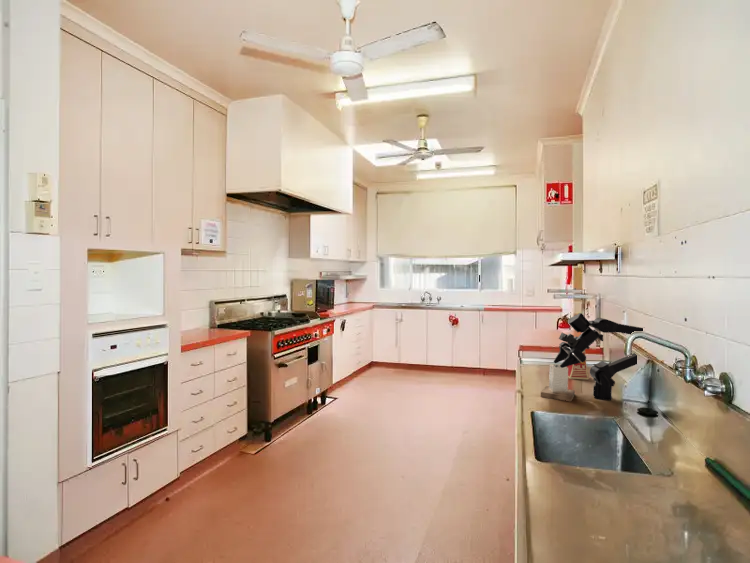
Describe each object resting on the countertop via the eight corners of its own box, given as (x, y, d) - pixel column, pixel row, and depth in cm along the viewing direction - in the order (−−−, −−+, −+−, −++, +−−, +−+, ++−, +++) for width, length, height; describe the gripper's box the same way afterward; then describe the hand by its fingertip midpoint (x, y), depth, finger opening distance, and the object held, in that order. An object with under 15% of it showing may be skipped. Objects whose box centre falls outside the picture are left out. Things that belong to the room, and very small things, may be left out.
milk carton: (588, 379, 223) (590, 340, 223) (570, 378, 224) (571, 339, 223) (580, 375, 233) (582, 337, 232) (562, 374, 233) (564, 336, 232)
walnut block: (574, 394, 194) (574, 390, 194) (570, 401, 184) (571, 396, 184) (545, 390, 201) (545, 385, 200) (540, 396, 190) (540, 391, 190)
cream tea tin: (562, 389, 195) (563, 364, 195) (567, 393, 189) (568, 367, 189) (548, 388, 196) (549, 364, 195) (552, 392, 190) (553, 367, 189)
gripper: (564, 324, 200) (538, 347, 202) (579, 329, 182) (550, 355, 183) (582, 342, 200) (556, 365, 201) (598, 349, 181) (569, 375, 183)
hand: (557, 364), depth 192 cm, fingers open, 9 cm apart
